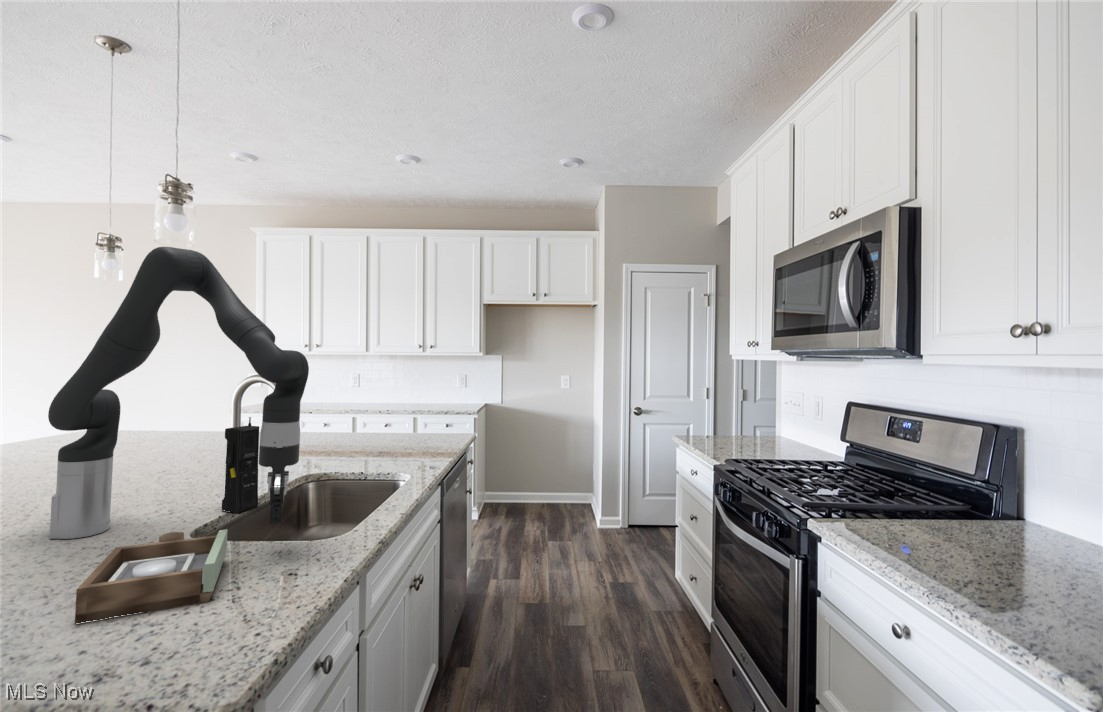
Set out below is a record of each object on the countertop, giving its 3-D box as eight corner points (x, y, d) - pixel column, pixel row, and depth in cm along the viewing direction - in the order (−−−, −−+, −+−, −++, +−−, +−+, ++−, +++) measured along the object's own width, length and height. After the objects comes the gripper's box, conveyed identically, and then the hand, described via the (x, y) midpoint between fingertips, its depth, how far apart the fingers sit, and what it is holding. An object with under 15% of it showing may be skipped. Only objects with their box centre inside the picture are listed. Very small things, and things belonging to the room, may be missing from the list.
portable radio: (236, 515, 124) (240, 421, 125) (217, 513, 126) (221, 419, 126) (260, 506, 132) (264, 417, 133) (241, 504, 133) (245, 416, 134)
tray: (89, 612, 73) (90, 580, 74) (125, 566, 89) (126, 540, 89) (213, 591, 81) (214, 563, 81) (226, 553, 97) (227, 529, 97)
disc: (122, 582, 81) (123, 573, 81) (147, 567, 87) (148, 559, 87) (161, 582, 82) (161, 572, 82) (183, 567, 88) (183, 558, 88)
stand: (155, 565, 94) (156, 540, 94) (160, 557, 97) (161, 533, 97) (180, 561, 96) (181, 537, 96) (184, 554, 99) (185, 530, 99)
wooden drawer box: (74, 624, 73) (76, 589, 73) (114, 576, 88) (115, 547, 89) (209, 601, 81) (210, 569, 81) (223, 561, 97) (224, 534, 97)
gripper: (261, 437, 105) (257, 515, 105) (257, 448, 94) (252, 535, 93) (299, 436, 109) (295, 511, 109) (300, 446, 97) (295, 530, 97)
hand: (275, 522), depth 101 cm, fingers closed
